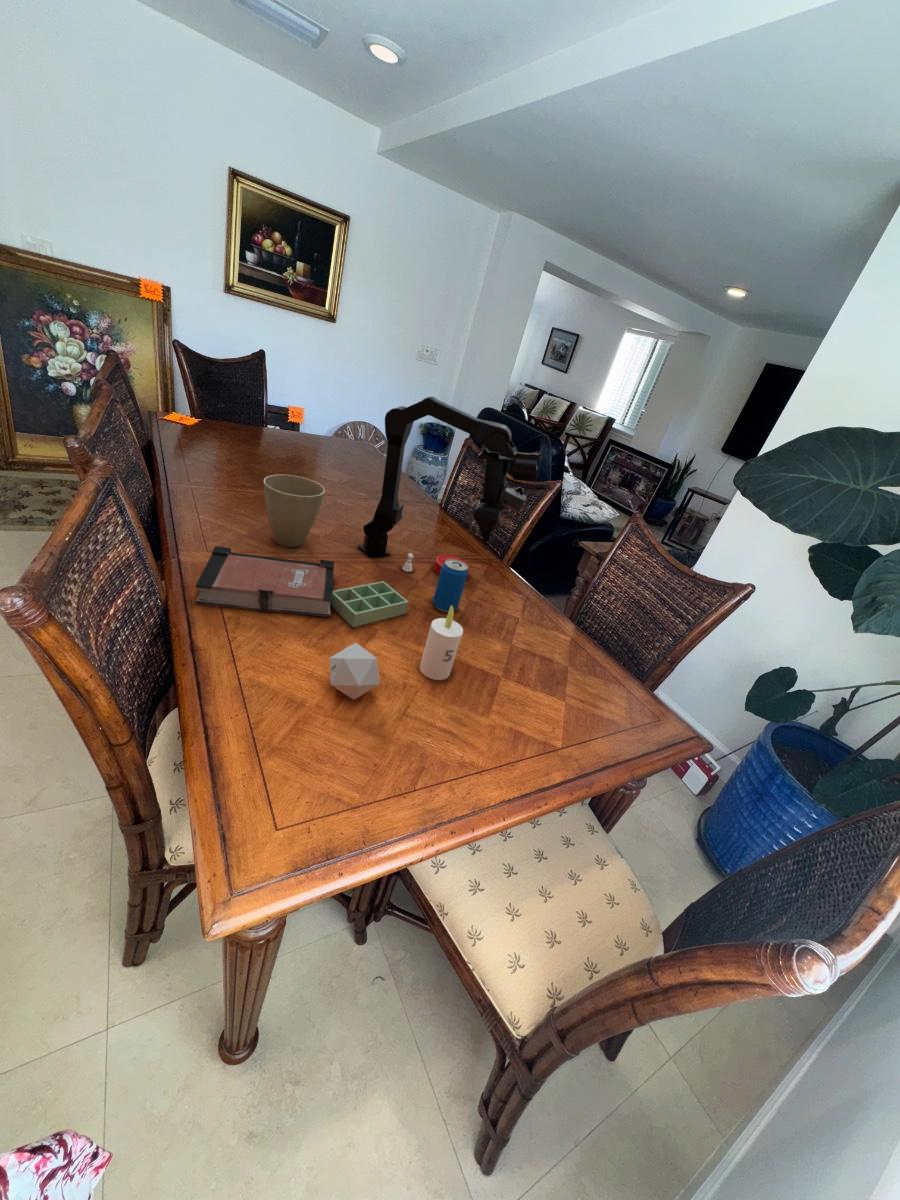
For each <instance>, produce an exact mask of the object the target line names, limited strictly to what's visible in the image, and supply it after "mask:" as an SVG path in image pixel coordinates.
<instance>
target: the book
mask: <svg viewBox="0 0 900 1200" xmlns="http://www.w3.org/2000/svg"><path fill="white" fill-rule="evenodd" d="M334 570H335V561H333V560H327V559H320V560H319V563H318V562H310V561H303V560H294V559H288V558H279V557H270V556H263V555H255V554H247V553H240V552H232V548H231V547H226V546H217V545H215V546H214V548H213V549H212V551H211V555H210V557H209V559H208V561H207V563H206V564H205V567H204V568H203V570H202V572H201V574H200V576H199V577H198V580H197V581H196V583H195V588H197V589H198V596H197V598H196V600H195V604H196V605H200V606H201V605H202V606H212V607H222V608H231V609H232V608H233V609H243V610H252V611H253V610H254V611H260V612H261V613H268V612H272V613H273V612H274V613H281V614H283V613H284V614H294V615H303V616H313V617H314V616H315V617H324V618H331V610H332V609H331V608H332V607H331V602H332V594H333V591H334V572H335V571H334Z"/></svg>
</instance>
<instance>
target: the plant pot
mask: <svg viewBox="0 0 900 1200" xmlns="http://www.w3.org/2000/svg"><path fill="white" fill-rule="evenodd" d="M263 492H264V503H265V509H266V513H267V519H268V522H269V527H270V531H271V533H272V536H273V539H274V541H275V543H276V544H278V545H280V546H282V547H287V548H297V547H300V546H302V545H303V544H304V542H305V541H306V539H307V537H308V535H309V534H310V532H311V530H312V528H313V526H314V524H315V521H316V519H317V516H318V514H319V512H320V508H321V507H322V506H321V505H322V502H323V498H324V495H325V493H326V489H325V488H324V486H323V485H322V484H321V483H319V482H317V481H314V480H313V479H309V478H306V477H302V476H300V475H299V476H298V475H292V474H283V473H282V474H272V475H271V474H270V475H268V476H266V477H264V478H263Z"/></svg>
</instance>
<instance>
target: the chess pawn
mask: <svg viewBox="0 0 900 1200" xmlns="http://www.w3.org/2000/svg"><path fill="white" fill-rule="evenodd" d="M414 557H415V556H414V554H413V553H411V552H410V553H407V555H406V558H407V559H406V562H405V563H404V565H403V566H402V570H403V571H404V572H407V573H410V572H413V564H412V562H413V559H414Z"/></svg>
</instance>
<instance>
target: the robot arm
mask: <svg viewBox="0 0 900 1200" xmlns="http://www.w3.org/2000/svg"><path fill="white" fill-rule="evenodd" d="M427 416H429V417H432V418H434V419H435V420H439V421H441V422H443V423H445V424H447V425H449V426H452V427H453V428H455V429H458V430H460V431H462V432H464V433H466V434H469V435H470V436H472V437H474V438H475V439H476V440H477V441H478V442H479V443H480V444H482V445H483V446H485V448H483V451H481V452H480V453H479V454H478V455H477V459H479V460H484V469H483V470H484V472H483V480H482V481H481V487H482V490H481V491H482V492H481V497H480V499H479V500H480V501H479V504H478V505H477V506H476V507H475V508H474V510H473V519H474V520H475V522H476V524H477V526H478V529H479V532H480V535H481V539H482V540H483V542H484V543H489V541H490V537H491V534H492V532H494V531H495V528H496V525H497V523H499V521H500V519H501V513H502V511H503V510H505V509H506V508H507V506H508V507H509V508H512V509H514V510H515V511H517V512H521V510H522V509H523V507H524V504H525V503H526V501H527V499H528V498H527V495H526V494H525V491H524V490H525V489H524V487H521V486H517V487H516V488H515V489H514V488H511V487H508V485H509V481H507V475H508V474H509V476H510V477H511V478H512V480H514V481H521V482H522V481H523V482H532V483H536V480H537V473H538V467H539V465H538V461H539V460H538V459H539V453H538V452H531V453H530V452H529V453H528V452H521V451H520V452H519V451H518V449H517V447H516V446H515V444H514V442H513V441H512V440H513V439H512V437H513V436H512V431H511V429H510V428H509V426H507V425H505V424H502V423H499V422H495V421H490V420H486V419H485V420H484V419H481V418H478V417H476V416H474V415H471V414H469V413H468V412H465V411H463V410H462V409H461V410H460V409H459V408H456V407H454V406H452V405H450V404H448V403H445V402H443V401H441V400H439V399H438V398H437V397H435V396H427V397H425V398H423V399H422V400H420V401H418V402H416V403H414V404H411V405H409V406H403V405H402V406H401V405H400V406H397V407H394V408H391V409H390V410H388V411H387V412H386V413H385V415H384V433H385V434H384V435H385V438H386V442H387V443H386V444H387V449H386V456H385V464H384V472H383V481H382V489H381V495H380V500H379V502H378V504H377V506H376V509H375V511H374V515H373V517H372V518H371V519H370V520H369V521H368V522H367V523H365V524H364V525H363V527H362V528H363V533H364V539H363V544H360V545H358V549H360V550H361V551H362V552H364V553H365V554H366V555H367V556H368V557H370V558H375V557H382V556H388V555H389V554H390V552H389V551H388V550H387V547H388V539H389V534H388V533H389V532H390V531H392V529H394V527H396V526H397V525H398V523H399V522H400V521H402V519H403V510H404V507H405V504H404V503H403V504H402V503H400V502H399V490H400V482H401V476H402V468H403V461H404V456H405V455H404V454H405V447H406V444H407V441H408V439H409V437H410V434H411V433H412V432H411V431H412V429H413V425H414V424H415V423H414V422H416V421H418V420H421V419H423V418H425V417H427ZM488 449H489V450H488ZM490 450H491V451H490ZM509 463H510V465H509ZM508 466H509V471H508Z"/></svg>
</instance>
